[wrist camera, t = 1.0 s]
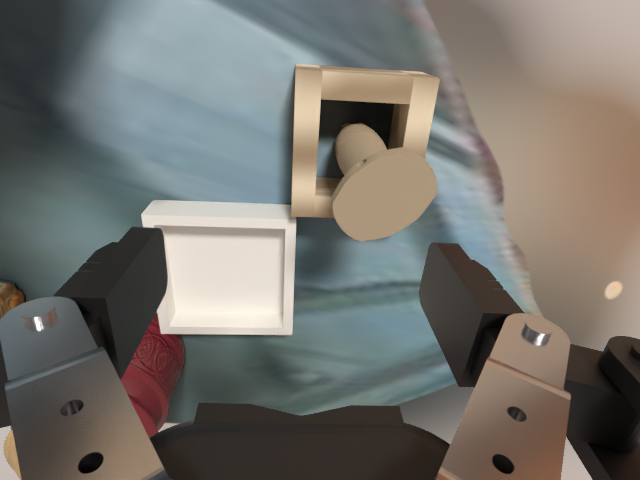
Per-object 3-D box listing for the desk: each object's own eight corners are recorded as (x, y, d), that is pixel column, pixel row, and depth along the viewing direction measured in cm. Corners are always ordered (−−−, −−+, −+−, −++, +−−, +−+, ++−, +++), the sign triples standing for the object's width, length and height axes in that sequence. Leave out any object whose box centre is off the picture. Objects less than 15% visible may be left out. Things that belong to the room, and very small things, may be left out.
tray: (153, 199, 39) (141, 214, 36) (296, 204, 40) (296, 219, 37) (170, 313, 45) (160, 333, 42) (292, 314, 46) (292, 335, 43)
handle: (394, 138, 37) (449, 199, 24) (338, 177, 39) (361, 254, 25) (367, 94, 35) (411, 134, 22) (309, 136, 37) (317, 198, 23)
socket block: (295, 63, 34) (295, 69, 29) (421, 71, 35) (439, 78, 30) (291, 195, 39) (291, 216, 35) (399, 199, 40) (412, 220, 36)
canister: (165, 292, 44) (94, 437, 28) (201, 374, 50) (160, 529, 35) (53, 312, 44) (-77, 465, 29) (103, 391, 51) (18, 552, 35)
